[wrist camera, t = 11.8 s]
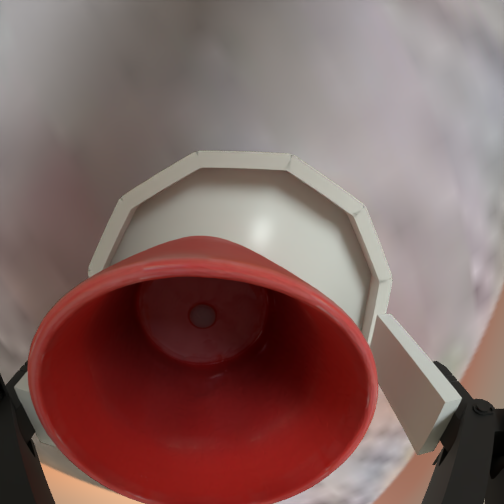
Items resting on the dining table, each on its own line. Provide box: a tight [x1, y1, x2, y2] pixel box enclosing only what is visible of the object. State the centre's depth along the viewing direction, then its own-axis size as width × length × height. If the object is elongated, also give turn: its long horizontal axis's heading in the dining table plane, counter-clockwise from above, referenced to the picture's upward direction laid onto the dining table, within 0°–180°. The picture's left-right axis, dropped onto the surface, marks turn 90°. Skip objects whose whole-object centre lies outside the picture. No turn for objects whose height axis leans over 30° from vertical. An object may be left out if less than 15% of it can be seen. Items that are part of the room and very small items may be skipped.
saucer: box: [88, 151, 393, 347], centre depth 17 cm, size 17×17×2 cm
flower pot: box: [27, 236, 378, 504], centre depth 13 cm, size 11×11×10 cm
